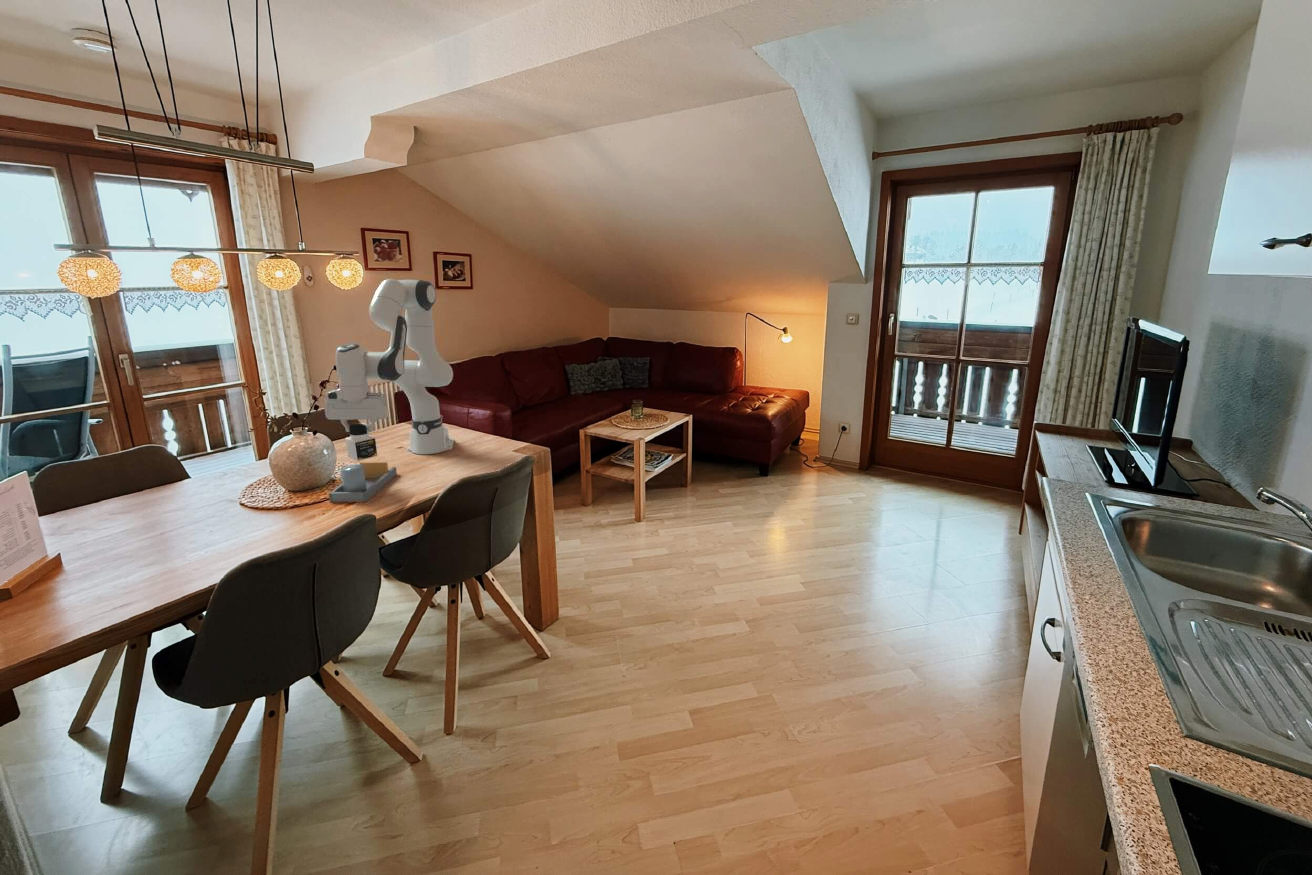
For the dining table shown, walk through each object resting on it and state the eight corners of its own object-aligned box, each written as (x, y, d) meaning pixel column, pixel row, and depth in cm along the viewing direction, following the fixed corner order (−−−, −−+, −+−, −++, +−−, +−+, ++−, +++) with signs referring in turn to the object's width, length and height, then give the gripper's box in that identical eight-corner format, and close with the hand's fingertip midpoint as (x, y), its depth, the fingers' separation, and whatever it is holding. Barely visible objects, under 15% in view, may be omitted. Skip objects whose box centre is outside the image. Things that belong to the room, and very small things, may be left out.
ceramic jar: (350, 491, 201) (346, 464, 198) (370, 491, 201) (366, 464, 198) (340, 499, 194) (336, 471, 191) (362, 499, 194) (358, 471, 192)
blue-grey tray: (363, 477, 217) (362, 467, 216) (397, 476, 218) (395, 466, 217) (330, 504, 192) (328, 493, 191) (368, 504, 193) (366, 493, 192)
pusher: (363, 476, 214) (361, 461, 212) (389, 476, 214) (387, 461, 212) (362, 478, 212) (359, 462, 211) (387, 477, 213) (385, 462, 211)
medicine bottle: (357, 461, 198) (353, 428, 195) (347, 457, 202) (342, 424, 199) (377, 456, 204) (373, 423, 200) (367, 452, 208) (363, 420, 204)
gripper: (389, 390, 200) (393, 428, 204) (328, 390, 199) (334, 428, 203) (381, 394, 194) (386, 433, 198) (319, 394, 193) (325, 433, 197)
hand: (359, 431), depth 201 cm, fingers closed on medicine bottle, 6 cm apart
